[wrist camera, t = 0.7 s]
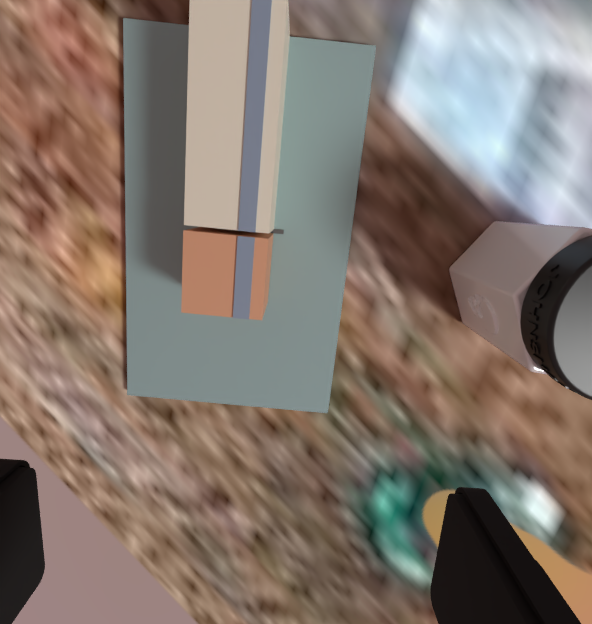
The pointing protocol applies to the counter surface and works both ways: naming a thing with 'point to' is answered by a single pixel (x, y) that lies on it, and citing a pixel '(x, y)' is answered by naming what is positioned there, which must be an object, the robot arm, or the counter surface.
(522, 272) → the jar
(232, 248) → the stub
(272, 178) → the beige box
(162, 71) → the mat
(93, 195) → the counter surface
